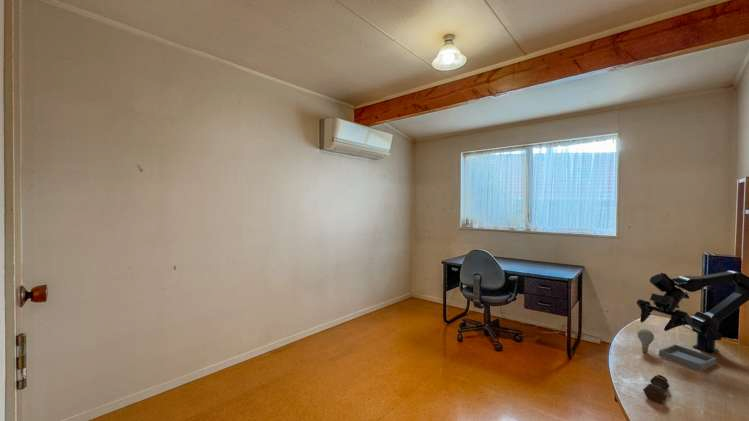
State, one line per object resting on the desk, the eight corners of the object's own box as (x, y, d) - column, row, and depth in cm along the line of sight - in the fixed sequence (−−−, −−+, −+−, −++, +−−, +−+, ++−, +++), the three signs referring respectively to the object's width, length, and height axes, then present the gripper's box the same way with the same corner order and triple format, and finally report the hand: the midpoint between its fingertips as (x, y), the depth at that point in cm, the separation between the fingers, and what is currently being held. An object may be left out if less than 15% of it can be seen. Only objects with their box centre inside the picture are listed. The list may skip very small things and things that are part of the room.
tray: (674, 349, 141) (674, 344, 141) (716, 363, 129) (716, 357, 129) (658, 355, 135) (659, 350, 135) (701, 371, 124) (701, 365, 123)
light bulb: (649, 356, 135) (650, 333, 135) (634, 350, 140) (635, 328, 140) (655, 353, 138) (656, 330, 137) (640, 347, 142) (641, 326, 142)
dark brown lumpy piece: (663, 390, 114) (656, 406, 105) (648, 378, 118) (639, 393, 108) (675, 380, 112) (669, 396, 102) (659, 367, 115) (652, 382, 106)
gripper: (640, 282, 149) (621, 307, 147) (689, 293, 132) (669, 322, 129) (650, 297, 152) (633, 322, 149) (700, 310, 134) (681, 339, 132)
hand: (652, 326), depth 140 cm, fingers open, 9 cm apart
